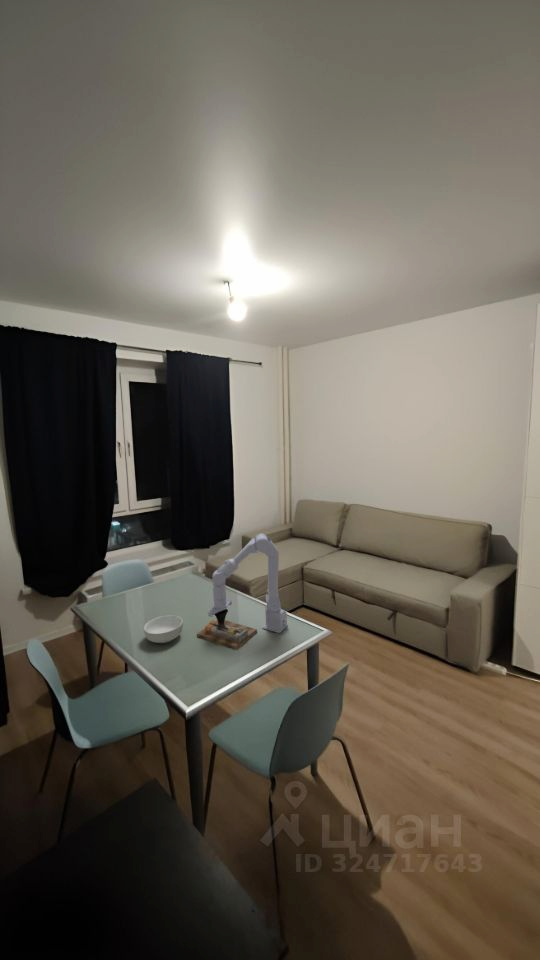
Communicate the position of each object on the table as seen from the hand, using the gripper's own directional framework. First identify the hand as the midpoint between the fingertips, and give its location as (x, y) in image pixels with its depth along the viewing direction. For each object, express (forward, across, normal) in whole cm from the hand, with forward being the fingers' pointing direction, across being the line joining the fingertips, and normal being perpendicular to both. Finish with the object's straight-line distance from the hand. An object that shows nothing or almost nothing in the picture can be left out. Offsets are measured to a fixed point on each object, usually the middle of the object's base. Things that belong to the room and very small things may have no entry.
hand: (221, 625), depth 176 cm
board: (+3, +1, +4) cm, 5 cm away
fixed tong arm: (+2, +3, +5) cm, 6 cm away
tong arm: (+1, +2, +4) cm, 5 cm away
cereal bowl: (+3, +17, -19) cm, 26 cm away
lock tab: (-2, +5, +10) cm, 12 cm away
